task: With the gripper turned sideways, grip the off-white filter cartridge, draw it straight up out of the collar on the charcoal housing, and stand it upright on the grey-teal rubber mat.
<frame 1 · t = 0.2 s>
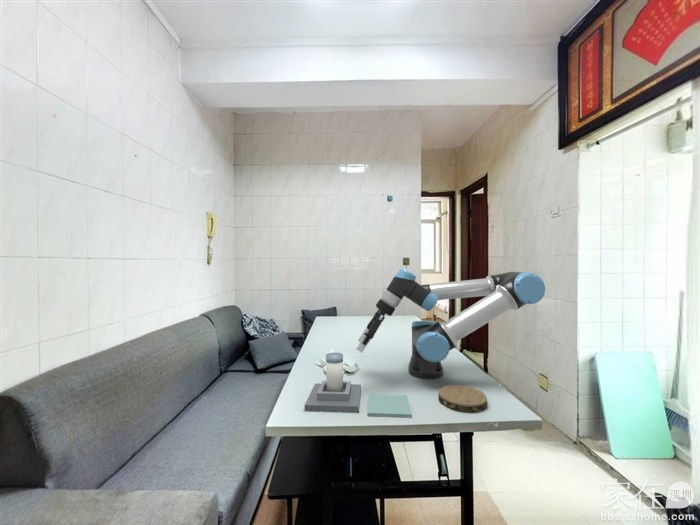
hand: (359, 346, 122), 15 cm above the table, tool tilted 35°, fingers open, 13 cm apart
wood slice coaster: (462, 403, 105), on the table
housing: (334, 399, 107), on the table
mat: (388, 406, 102), on the table
cartridge: (334, 394, 107), point 2 cm above the table, touching housing
tea box: (427, 356, 158), on the table
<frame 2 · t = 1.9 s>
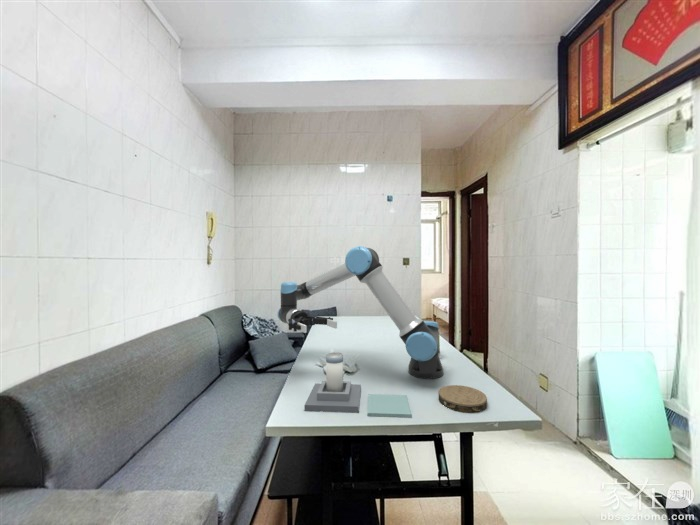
hand: (321, 327, 115), 25 cm above the table, tool horizontal, fingers open, 13 cm apart
nothing on the table moved.
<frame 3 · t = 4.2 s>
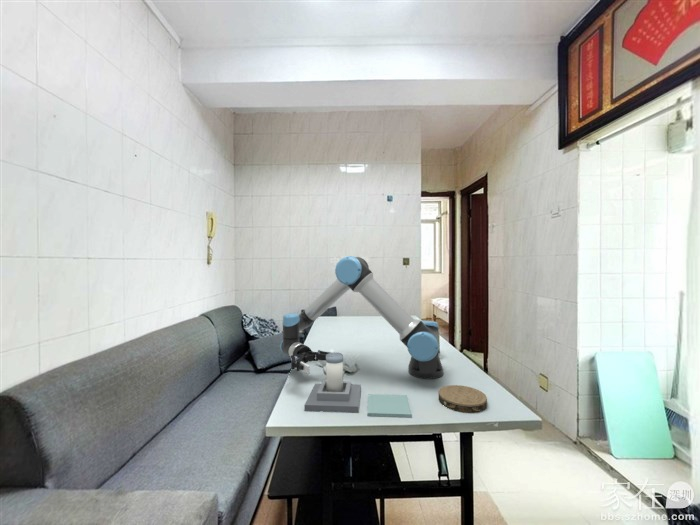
hand: (325, 366, 112), 10 cm above the table, tool horizontal, fingers open, 13 cm apart
nothing on the table moved.
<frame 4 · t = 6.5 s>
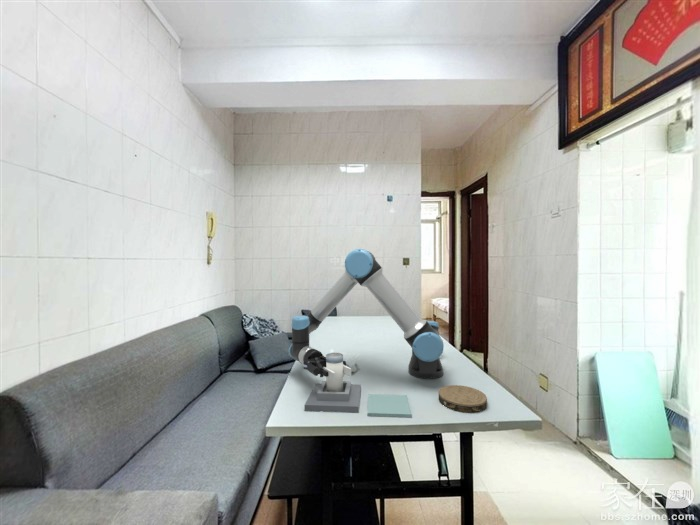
hand: (342, 374, 103), 10 cm above the table, tool horizontal, fingers closed on cartridge, 6 cm apart
cartridge: (334, 394, 107), point 2 cm above the table, touching gripper, housing
everything else where it was.
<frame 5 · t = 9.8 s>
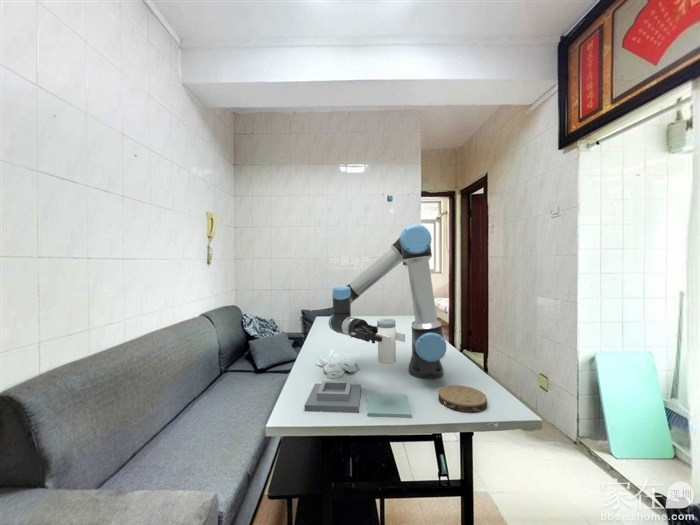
hand: (397, 339, 98), 24 cm above the table, tool horizontal, fingers closed on cartridge, 6 cm apart
cartridge: (387, 361, 102), point 15 cm above the table, touching gripper
everything else where it was.
when the fingers open (11 cm above the table, at t = 13.1 s): cartridge drops 1 cm, resting on mat.
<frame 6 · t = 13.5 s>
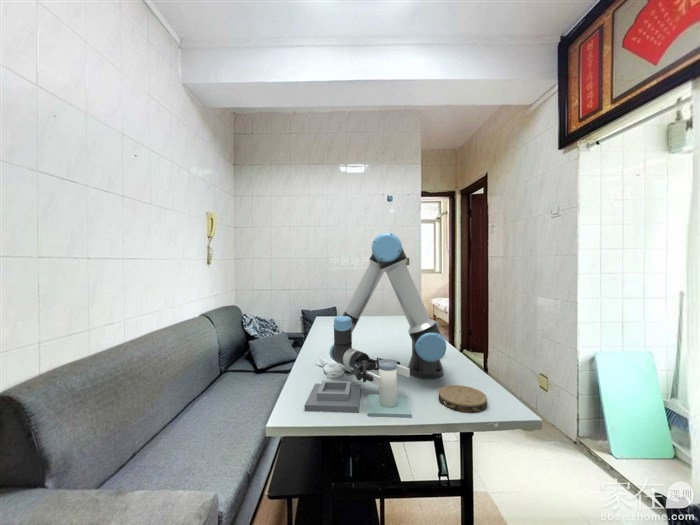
hand: (395, 377, 99), 11 cm above the table, tool horizontal, fingers open, 12 cm apart
cartridge: (388, 403, 102), point 1 cm above the table, touching mat
everything else where it was.
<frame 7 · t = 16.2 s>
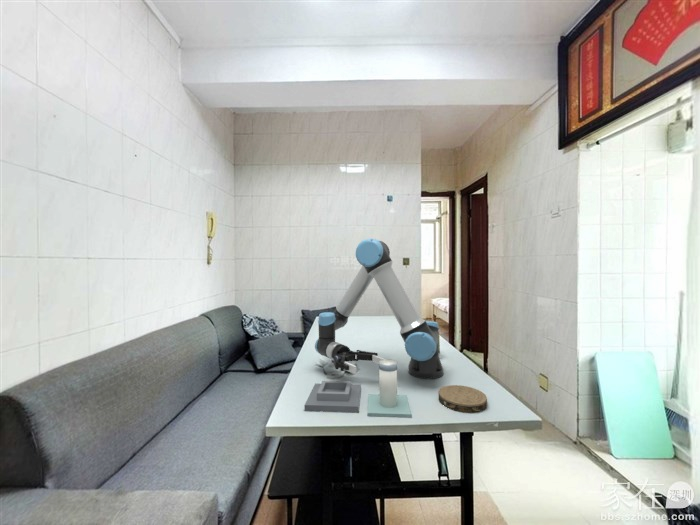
hand: (370, 366, 110), 11 cm above the table, tool horizontal, fingers open, 13 cm apart
nothing on the table moved.
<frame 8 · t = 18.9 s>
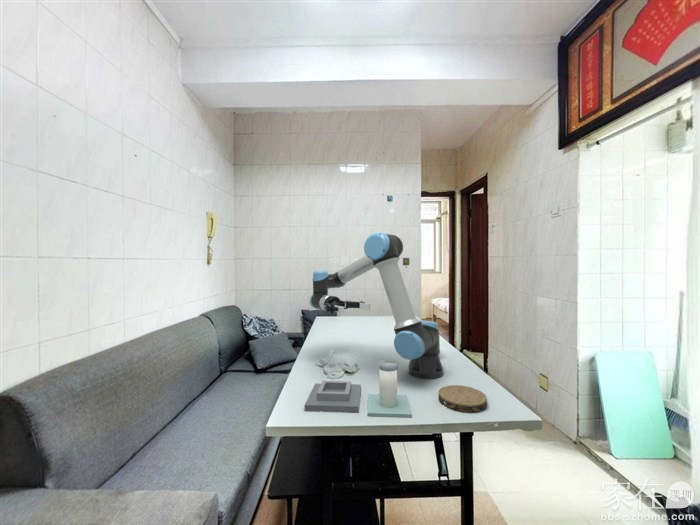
hand: (356, 308, 125), 30 cm above the table, tool horizontal, fingers open, 13 cm apart
nothing on the table moved.
at the end: cartridge inside the target area on the mat (0.1 cm from its centre), point 1.0 cm above the mat's base; cartridge tilted 1°; the gripper is holding nothing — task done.
